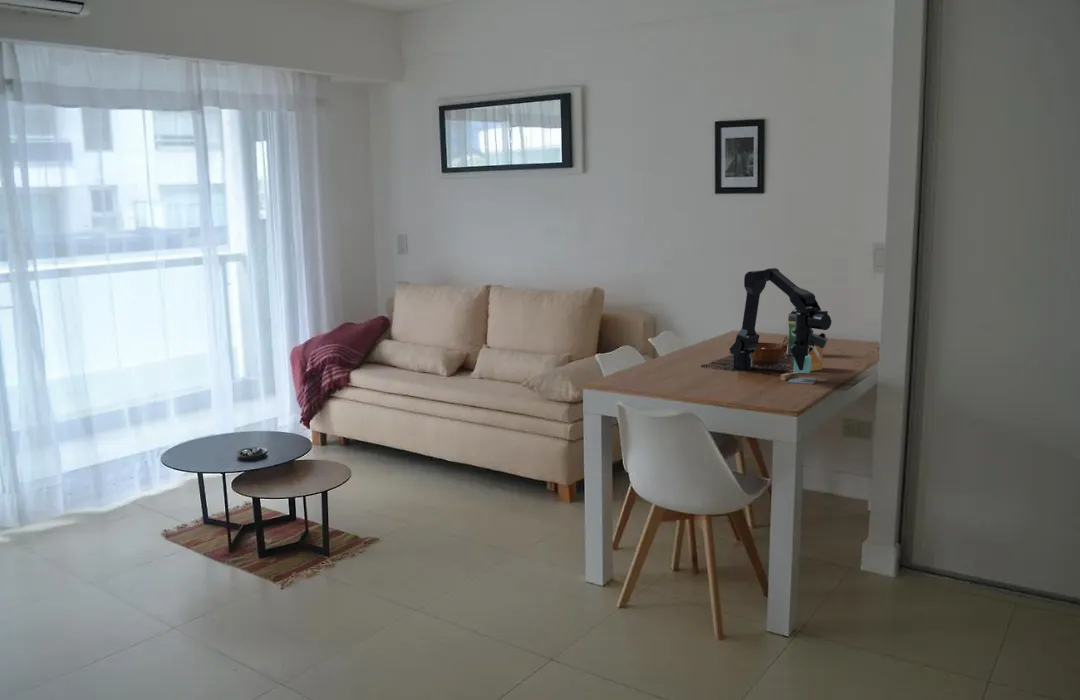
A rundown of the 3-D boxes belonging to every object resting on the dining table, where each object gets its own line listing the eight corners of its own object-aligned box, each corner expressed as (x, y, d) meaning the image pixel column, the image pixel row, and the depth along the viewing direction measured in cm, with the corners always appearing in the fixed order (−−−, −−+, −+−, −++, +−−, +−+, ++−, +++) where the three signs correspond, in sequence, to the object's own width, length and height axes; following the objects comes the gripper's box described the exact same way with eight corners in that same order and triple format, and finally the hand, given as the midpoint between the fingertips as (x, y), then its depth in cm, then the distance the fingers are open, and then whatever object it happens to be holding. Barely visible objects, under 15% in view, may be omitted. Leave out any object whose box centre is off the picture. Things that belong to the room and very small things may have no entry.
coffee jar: (812, 354, 385) (813, 311, 382) (807, 357, 378) (809, 314, 375) (789, 353, 390) (791, 310, 387) (784, 356, 383) (786, 313, 380)
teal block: (793, 372, 330) (793, 357, 329) (795, 369, 335) (796, 354, 334) (808, 373, 328) (809, 358, 327) (811, 370, 333) (811, 355, 332)
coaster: (787, 382, 330) (787, 381, 330) (791, 378, 338) (791, 377, 338) (812, 384, 326) (812, 383, 326) (816, 379, 334) (816, 378, 334)
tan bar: (784, 380, 334) (784, 375, 334) (780, 379, 336) (780, 374, 335) (798, 377, 338) (799, 372, 338) (794, 377, 340) (794, 371, 340)
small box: (808, 372, 349) (809, 338, 347) (796, 369, 354) (797, 337, 352) (822, 369, 353) (823, 336, 351) (809, 367, 358) (810, 334, 356)
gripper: (822, 331, 317) (821, 374, 320) (829, 324, 334) (828, 365, 336) (790, 330, 322) (789, 372, 325) (799, 323, 338) (797, 363, 341)
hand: (802, 368), depth 332 cm, fingers closed on teal block, 5 cm apart
